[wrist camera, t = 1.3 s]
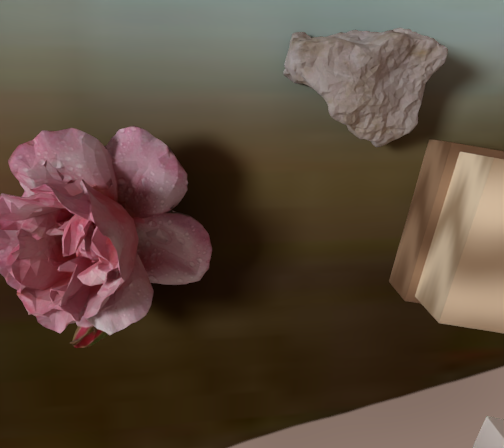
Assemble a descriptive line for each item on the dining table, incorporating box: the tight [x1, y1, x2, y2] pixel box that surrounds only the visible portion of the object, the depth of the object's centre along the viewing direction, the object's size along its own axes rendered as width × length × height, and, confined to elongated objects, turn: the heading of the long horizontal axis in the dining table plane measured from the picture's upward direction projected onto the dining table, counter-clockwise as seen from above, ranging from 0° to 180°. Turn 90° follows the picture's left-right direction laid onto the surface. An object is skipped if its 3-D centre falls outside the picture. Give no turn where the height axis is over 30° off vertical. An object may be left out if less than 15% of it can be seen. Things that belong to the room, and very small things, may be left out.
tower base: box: [389, 139, 504, 303], centre depth 31 cm, size 12×12×4 cm
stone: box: [283, 28, 448, 147], centre depth 27 cm, size 8×10×6 cm
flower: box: [0, 126, 212, 348], centre depth 28 cm, size 15×15×10 cm
